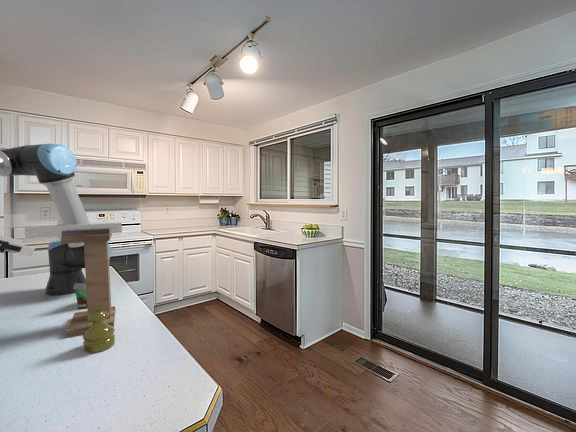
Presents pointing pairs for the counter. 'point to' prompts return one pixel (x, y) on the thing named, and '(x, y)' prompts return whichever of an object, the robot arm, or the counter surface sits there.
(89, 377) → the counter surface
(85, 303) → the food container
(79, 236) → the walnut shelf
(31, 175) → the robot arm
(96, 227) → the steel bar
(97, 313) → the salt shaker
